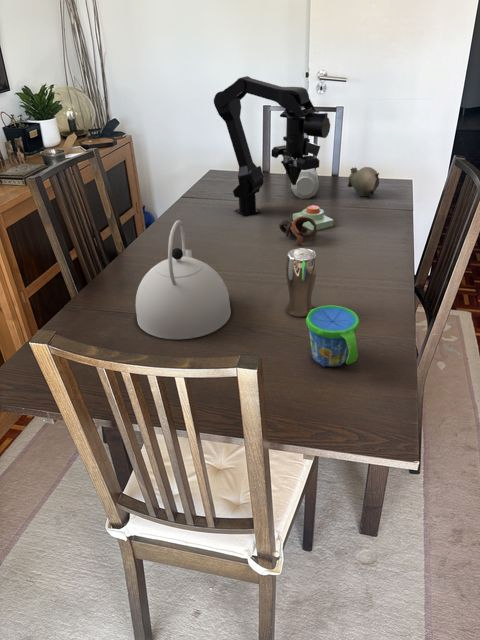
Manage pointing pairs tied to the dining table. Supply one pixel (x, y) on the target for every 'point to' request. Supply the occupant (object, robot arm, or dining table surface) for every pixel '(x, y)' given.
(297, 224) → the pottery mug
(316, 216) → the box
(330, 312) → the snack cup
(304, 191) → the device
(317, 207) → the call button
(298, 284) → the beer glass
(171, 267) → the kettle
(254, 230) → the dining table surface
